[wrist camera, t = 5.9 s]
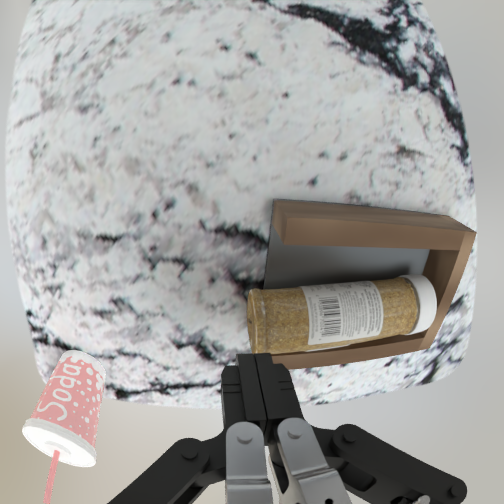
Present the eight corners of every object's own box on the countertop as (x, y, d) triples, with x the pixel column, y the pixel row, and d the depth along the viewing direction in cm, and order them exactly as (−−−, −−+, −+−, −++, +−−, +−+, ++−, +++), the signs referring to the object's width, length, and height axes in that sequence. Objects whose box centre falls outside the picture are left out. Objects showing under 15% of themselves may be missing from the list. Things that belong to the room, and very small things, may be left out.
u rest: (273, 198, 18) (287, 217, 15) (448, 216, 20) (476, 232, 17) (257, 338, 22) (264, 371, 19) (411, 325, 25) (429, 348, 22)
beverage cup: (118, 358, 22) (88, 512, 9) (110, 396, 24) (89, 523, 11) (54, 333, 20) (-4, 473, 7) (54, 374, 22) (15, 494, 10)
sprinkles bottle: (250, 363, 19) (413, 338, 21) (255, 349, 16) (445, 319, 17) (244, 302, 22) (400, 288, 23) (248, 274, 18) (427, 262, 19)
